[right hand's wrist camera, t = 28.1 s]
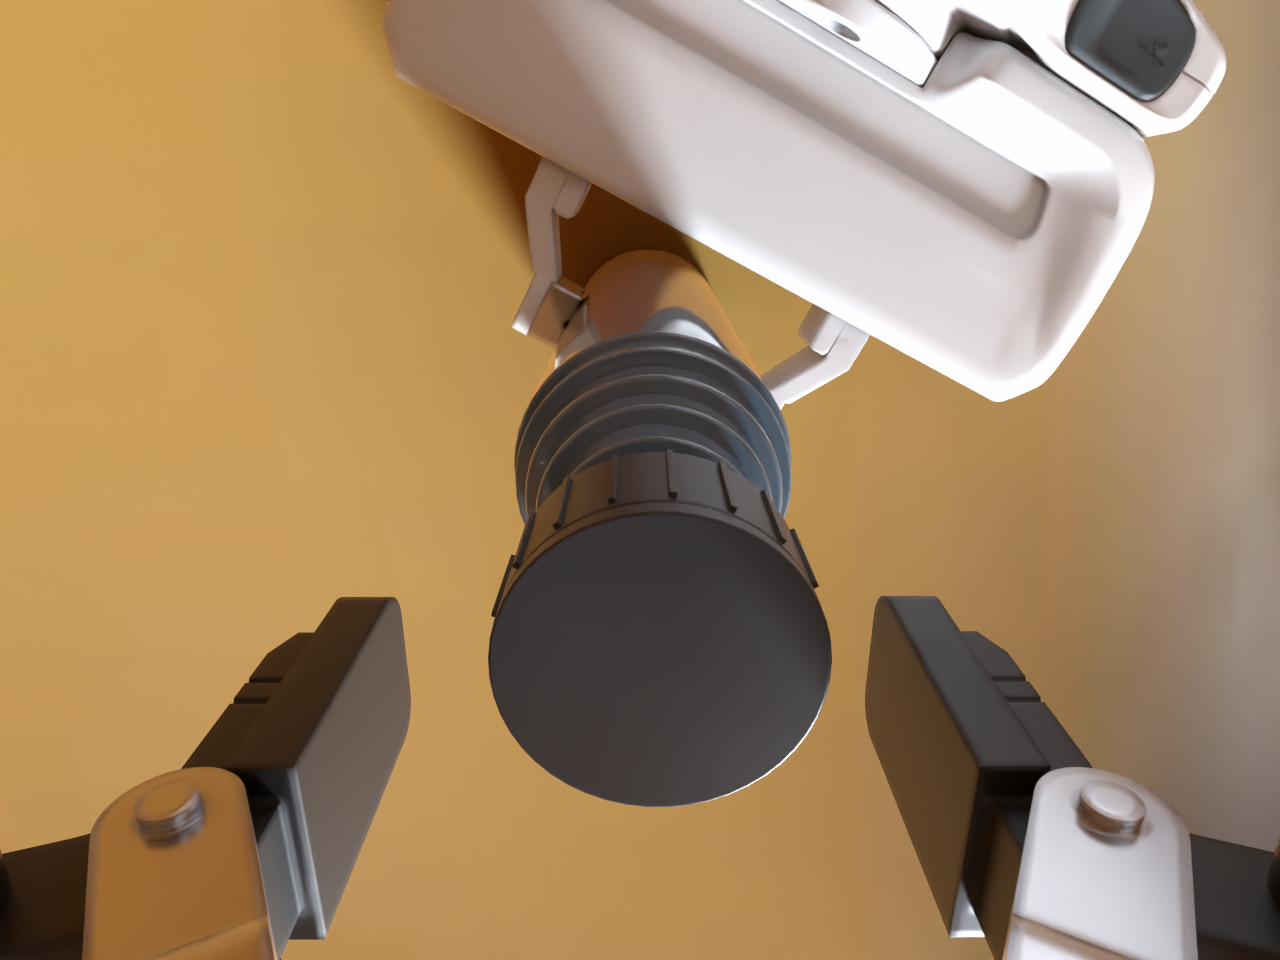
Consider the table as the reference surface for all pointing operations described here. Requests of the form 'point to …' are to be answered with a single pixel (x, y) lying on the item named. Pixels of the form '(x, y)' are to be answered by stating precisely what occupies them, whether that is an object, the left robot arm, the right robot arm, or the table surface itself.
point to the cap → (659, 633)
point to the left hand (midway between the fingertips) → (636, 386)
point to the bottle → (650, 384)
